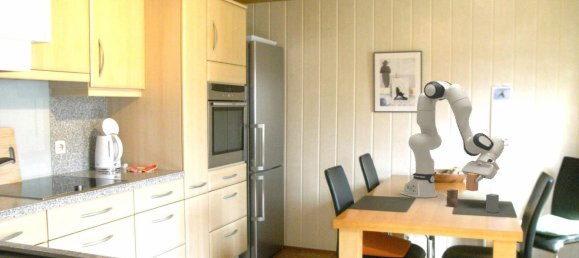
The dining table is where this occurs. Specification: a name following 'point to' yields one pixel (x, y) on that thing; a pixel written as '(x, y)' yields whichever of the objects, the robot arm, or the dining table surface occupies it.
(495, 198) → the charcoal bar
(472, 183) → the terracotta bar
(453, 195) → the walnut bar
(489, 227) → the dining table surface
